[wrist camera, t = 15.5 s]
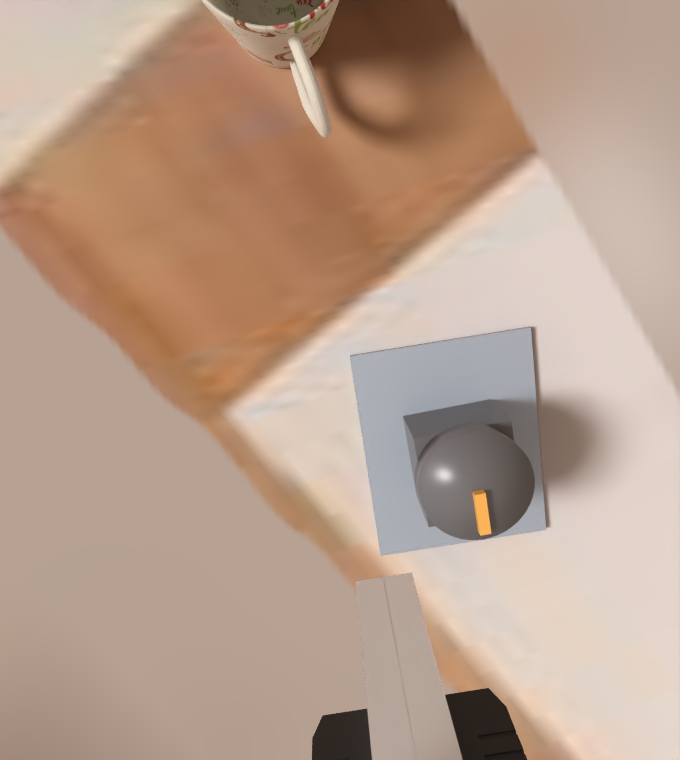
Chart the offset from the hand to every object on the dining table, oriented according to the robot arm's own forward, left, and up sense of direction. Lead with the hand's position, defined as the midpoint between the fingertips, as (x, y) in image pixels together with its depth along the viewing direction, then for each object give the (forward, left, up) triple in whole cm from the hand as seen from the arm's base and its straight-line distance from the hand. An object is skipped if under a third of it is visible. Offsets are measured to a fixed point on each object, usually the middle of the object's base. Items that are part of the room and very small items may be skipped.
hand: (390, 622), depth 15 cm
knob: (+6, +7, -26) cm, 28 cm away
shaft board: (+6, +7, -26) cm, 28 cm away
